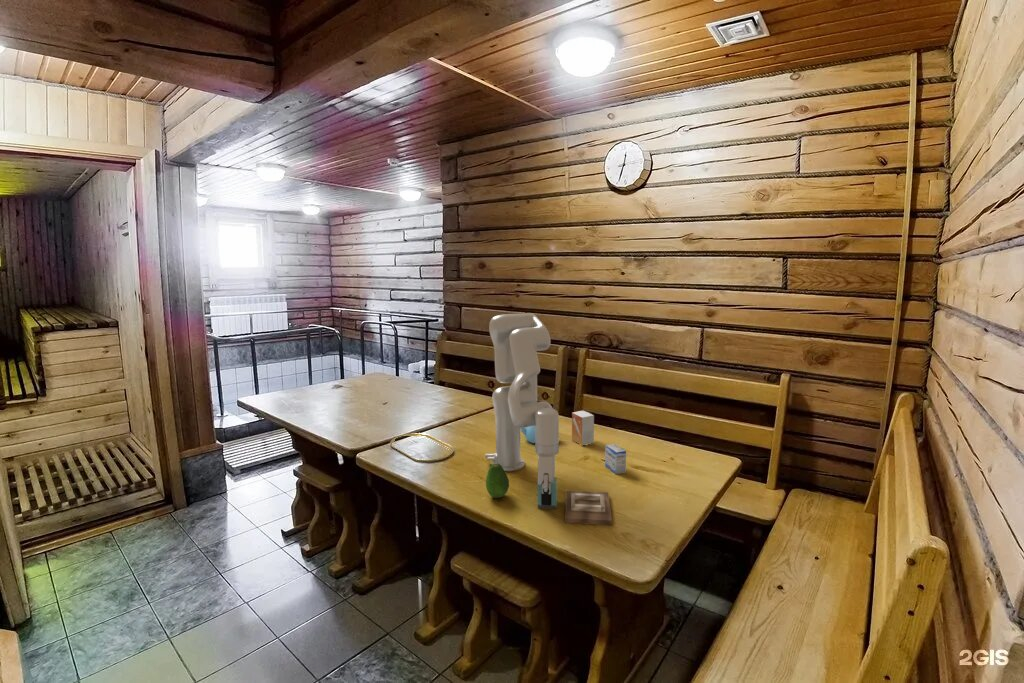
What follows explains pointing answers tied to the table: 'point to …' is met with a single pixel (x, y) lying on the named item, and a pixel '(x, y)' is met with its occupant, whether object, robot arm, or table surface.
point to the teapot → (529, 433)
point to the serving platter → (427, 437)
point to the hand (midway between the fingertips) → (547, 497)
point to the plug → (553, 495)
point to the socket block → (588, 508)
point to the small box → (582, 427)
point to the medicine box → (615, 459)
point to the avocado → (497, 481)
